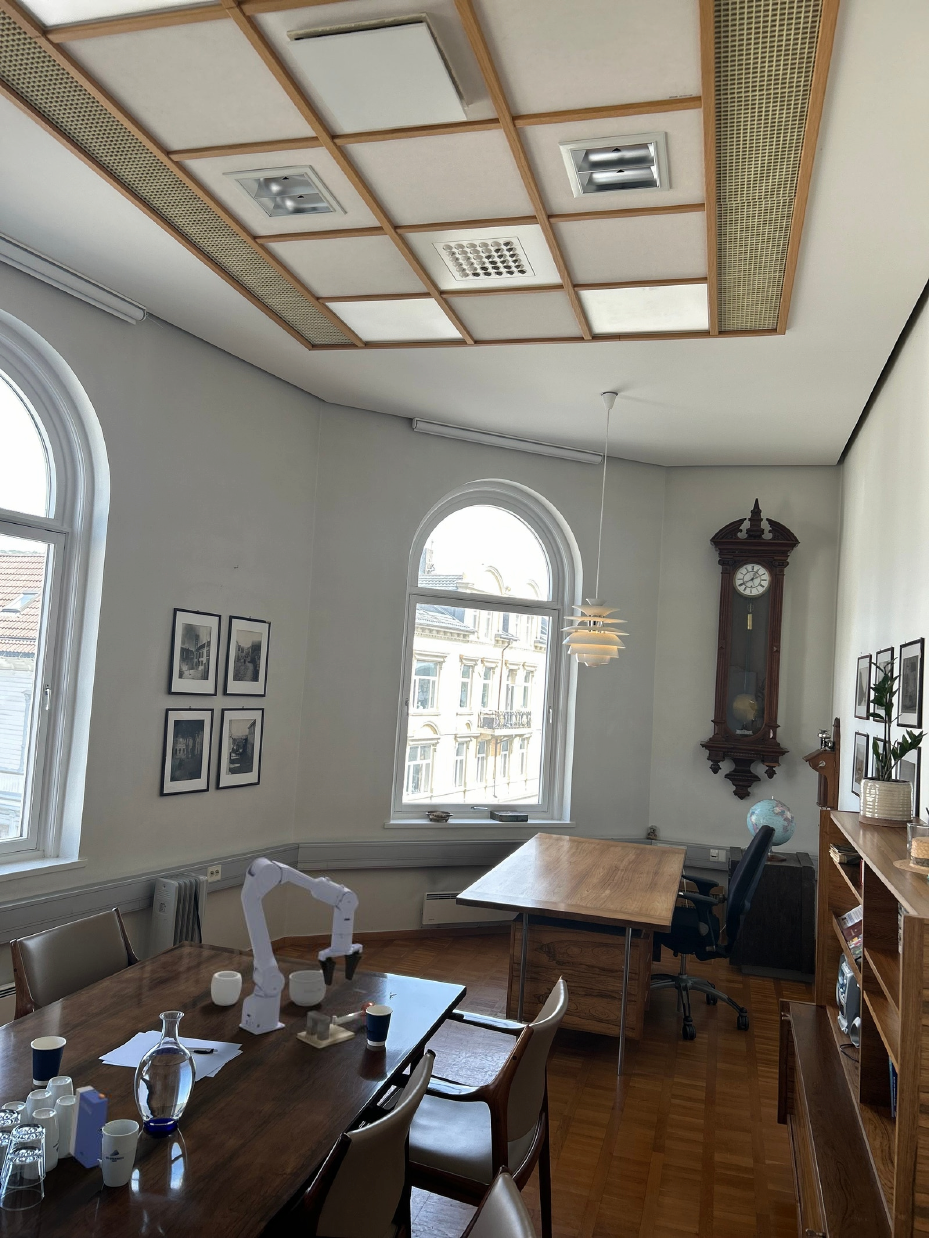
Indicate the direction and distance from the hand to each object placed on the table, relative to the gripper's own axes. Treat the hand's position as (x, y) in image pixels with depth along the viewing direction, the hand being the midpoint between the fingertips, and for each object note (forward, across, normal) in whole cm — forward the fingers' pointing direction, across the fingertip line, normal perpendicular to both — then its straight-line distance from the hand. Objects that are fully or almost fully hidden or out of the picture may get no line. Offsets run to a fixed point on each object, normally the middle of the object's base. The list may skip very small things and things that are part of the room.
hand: (338, 982), depth 252 cm
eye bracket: (+10, -12, -9) cm, 18 cm away
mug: (+10, -16, +30) cm, 35 cm away
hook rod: (+9, -2, -9) cm, 13 cm away
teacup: (+10, +3, +15) cm, 18 cm away
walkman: (+10, -85, -27) cm, 90 cm away
